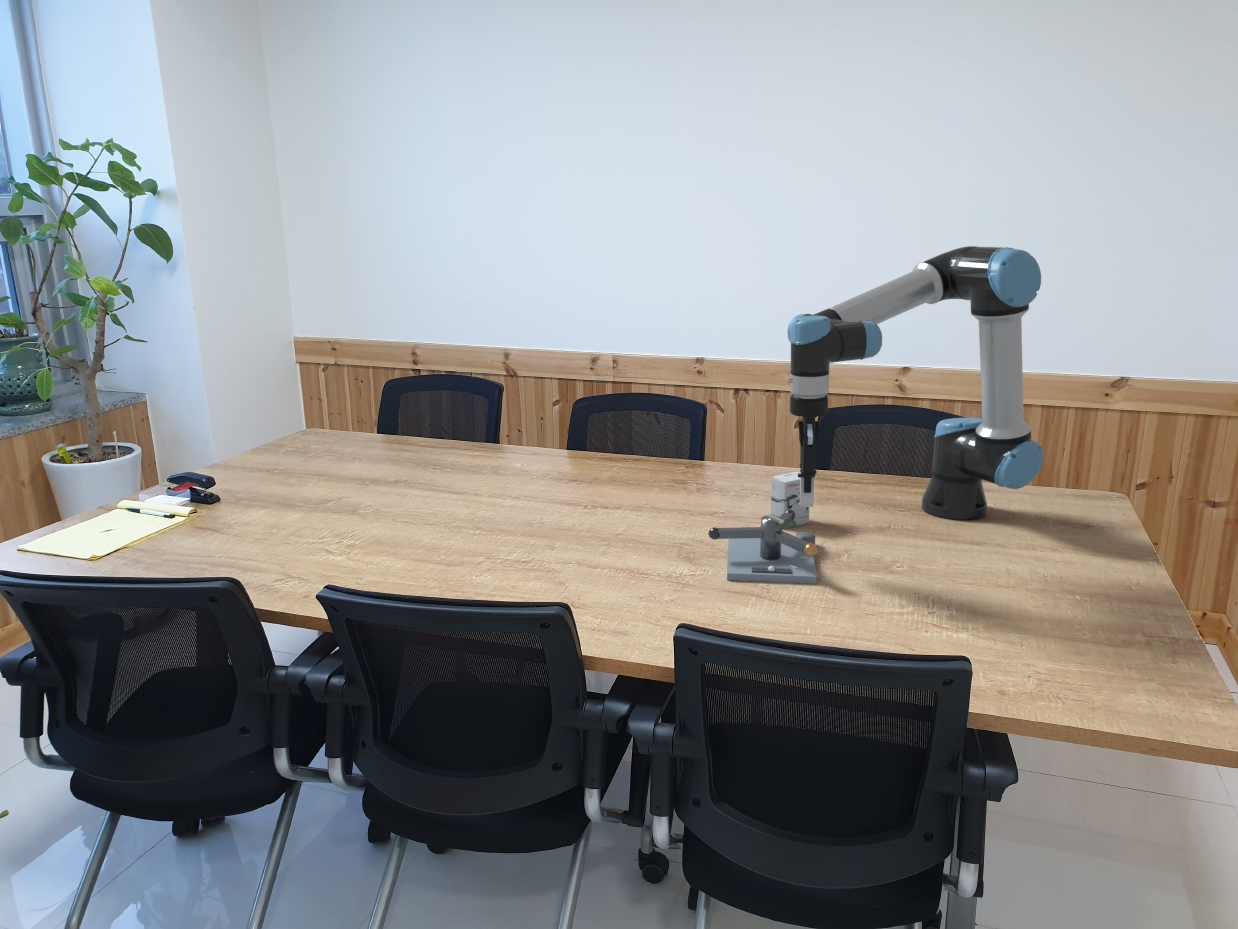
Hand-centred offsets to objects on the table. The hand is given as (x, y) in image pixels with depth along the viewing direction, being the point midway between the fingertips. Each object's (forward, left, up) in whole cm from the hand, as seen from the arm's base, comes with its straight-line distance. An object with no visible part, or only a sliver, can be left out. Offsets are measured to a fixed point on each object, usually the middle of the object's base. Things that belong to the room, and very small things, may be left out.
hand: (806, 505), depth 189 cm
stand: (+7, -2, -13) cm, 15 cm away
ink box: (+2, -26, -14) cm, 30 cm away
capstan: (+5, +2, -12) cm, 13 cm away
